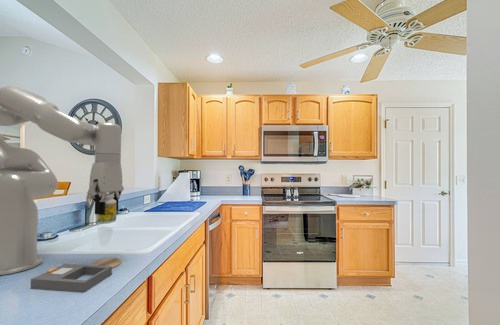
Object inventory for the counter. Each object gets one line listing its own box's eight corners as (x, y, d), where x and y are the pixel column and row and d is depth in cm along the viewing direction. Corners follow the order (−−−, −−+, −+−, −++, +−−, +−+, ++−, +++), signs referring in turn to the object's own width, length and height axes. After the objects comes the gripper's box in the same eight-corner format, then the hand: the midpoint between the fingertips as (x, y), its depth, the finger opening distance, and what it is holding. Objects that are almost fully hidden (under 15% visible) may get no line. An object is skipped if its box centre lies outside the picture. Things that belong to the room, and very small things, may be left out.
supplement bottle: (115, 219, 80) (116, 192, 80) (116, 222, 75) (117, 194, 75) (97, 221, 77) (98, 193, 77) (97, 224, 72) (97, 195, 72)
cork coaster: (82, 270, 71) (82, 268, 71) (103, 259, 80) (103, 257, 80) (107, 271, 70) (107, 269, 70) (126, 260, 79) (126, 258, 79)
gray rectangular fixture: (30, 288, 61) (30, 277, 61) (65, 271, 70) (65, 262, 71) (83, 292, 59) (84, 281, 59) (111, 274, 69) (111, 265, 69)
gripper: (115, 160, 85) (114, 207, 85) (76, 158, 68) (74, 217, 68) (134, 160, 85) (133, 208, 84) (98, 158, 68) (96, 218, 67)
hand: (106, 211), depth 76 cm, fingers closed on supplement bottle, 5 cm apart
